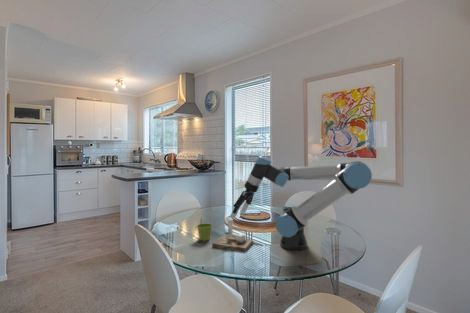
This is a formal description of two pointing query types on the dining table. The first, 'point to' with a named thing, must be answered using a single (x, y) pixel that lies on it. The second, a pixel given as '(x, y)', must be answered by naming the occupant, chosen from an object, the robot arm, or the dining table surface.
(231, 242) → the board
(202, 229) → the plant pot
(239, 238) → the peg
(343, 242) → the dining table surface
